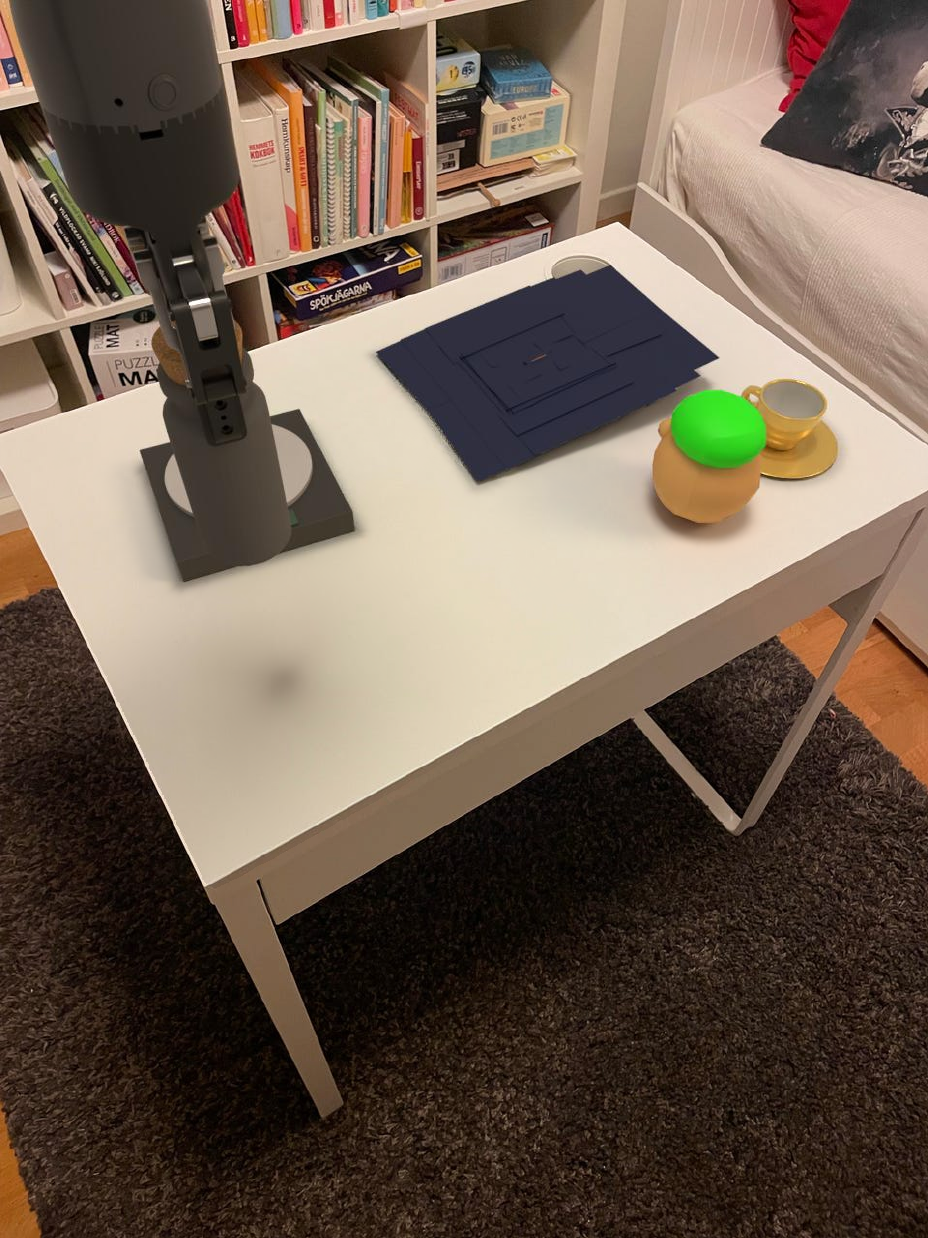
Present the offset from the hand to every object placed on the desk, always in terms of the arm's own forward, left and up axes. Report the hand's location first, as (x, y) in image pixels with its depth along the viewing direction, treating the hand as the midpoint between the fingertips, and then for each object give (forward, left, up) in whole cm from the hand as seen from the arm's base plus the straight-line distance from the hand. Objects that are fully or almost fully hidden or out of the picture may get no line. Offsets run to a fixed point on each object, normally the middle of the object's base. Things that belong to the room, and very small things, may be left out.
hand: (213, 404), depth 50 cm
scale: (+3, +22, -28) cm, 35 cm away
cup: (+55, +9, -28) cm, 62 cm away
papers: (+38, +28, -28) cm, 55 cm away
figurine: (+42, +5, -28) cm, 51 cm away
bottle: (0, 0, -11) cm, 11 cm away
